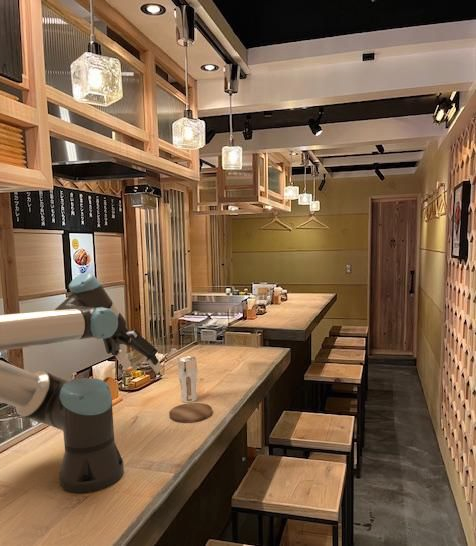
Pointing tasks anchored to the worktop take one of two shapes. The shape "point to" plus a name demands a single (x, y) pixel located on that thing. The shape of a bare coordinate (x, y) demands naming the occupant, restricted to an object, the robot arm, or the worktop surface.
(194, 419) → the walnut coaster board
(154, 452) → the worktop surface
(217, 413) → the worktop surface
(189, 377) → the beer glass
